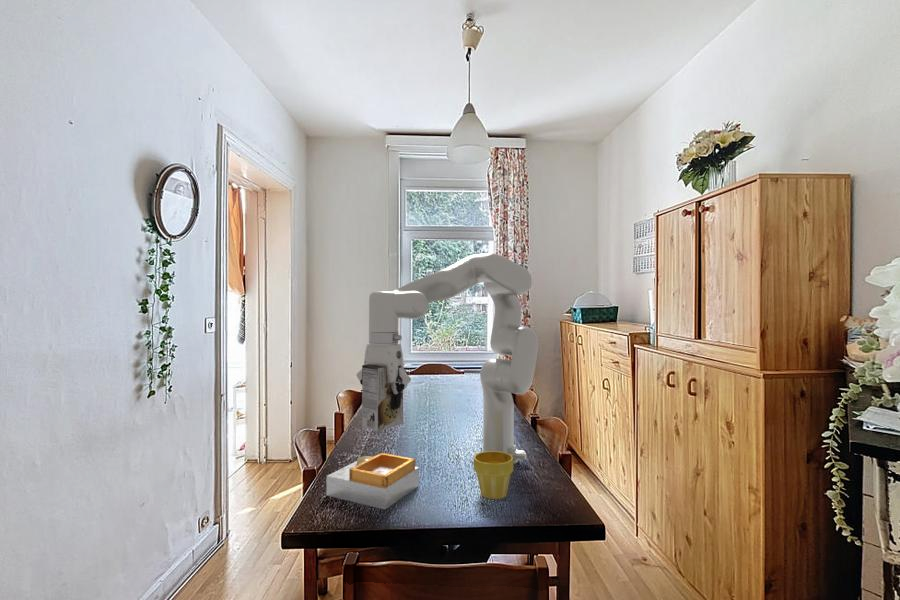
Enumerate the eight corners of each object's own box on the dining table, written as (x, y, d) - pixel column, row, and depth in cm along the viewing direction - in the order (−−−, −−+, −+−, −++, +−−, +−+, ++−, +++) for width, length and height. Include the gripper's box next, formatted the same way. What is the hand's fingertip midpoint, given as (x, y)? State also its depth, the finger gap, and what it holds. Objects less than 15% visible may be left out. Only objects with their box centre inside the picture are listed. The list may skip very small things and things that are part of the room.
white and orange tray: (418, 485, 128) (418, 458, 128) (385, 509, 114) (385, 478, 114) (364, 474, 136) (364, 448, 136) (326, 495, 122) (326, 466, 122)
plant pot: (465, 494, 123) (465, 456, 123) (491, 483, 130) (491, 447, 130) (495, 506, 116) (496, 466, 115) (521, 494, 123) (521, 456, 123)
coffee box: (386, 420, 129) (387, 361, 129) (403, 424, 125) (404, 363, 125) (360, 427, 122) (361, 364, 122) (377, 431, 118) (378, 366, 118)
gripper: (419, 339, 123) (419, 407, 123) (364, 336, 131) (364, 400, 131) (404, 341, 116) (403, 413, 116) (347, 338, 124) (346, 406, 124)
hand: (382, 406), depth 123 cm, fingers closed on coffee box, 7 cm apart
